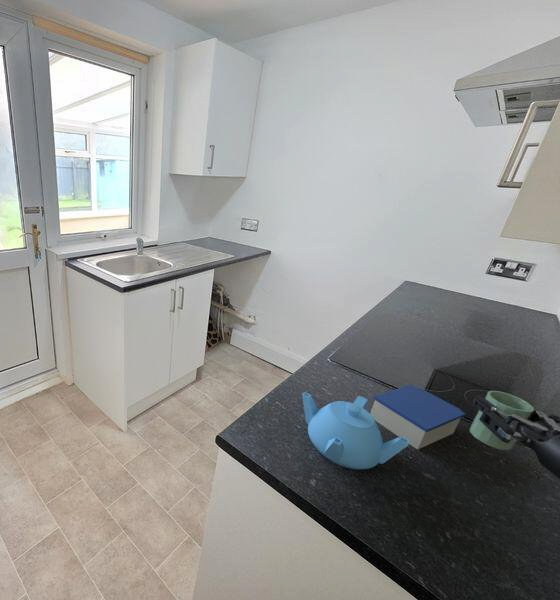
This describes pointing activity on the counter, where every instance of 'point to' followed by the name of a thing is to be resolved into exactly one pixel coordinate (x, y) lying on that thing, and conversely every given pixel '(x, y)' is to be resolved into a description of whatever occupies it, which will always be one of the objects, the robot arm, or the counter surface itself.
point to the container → (416, 415)
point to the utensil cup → (507, 405)
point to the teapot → (348, 434)
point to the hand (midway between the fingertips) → (493, 401)
